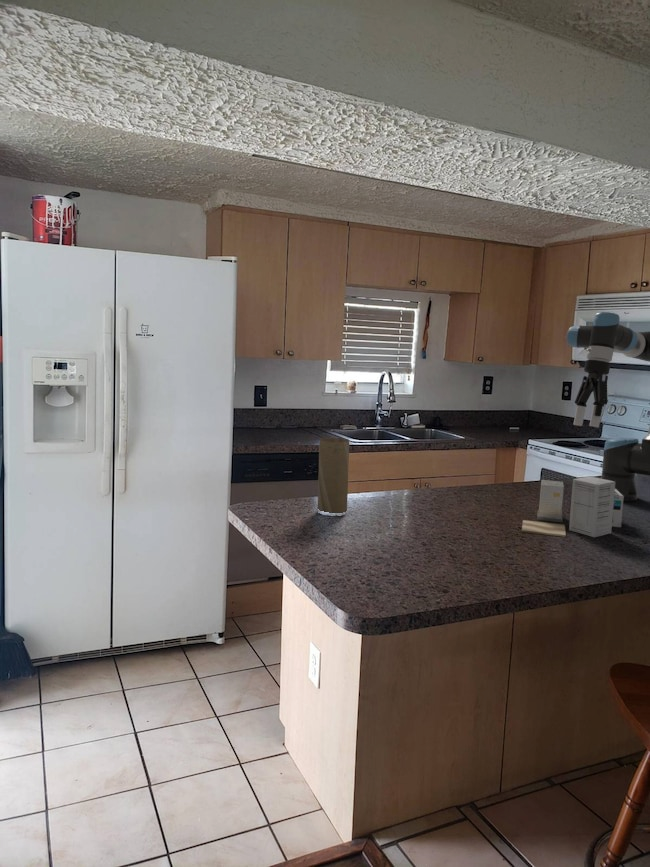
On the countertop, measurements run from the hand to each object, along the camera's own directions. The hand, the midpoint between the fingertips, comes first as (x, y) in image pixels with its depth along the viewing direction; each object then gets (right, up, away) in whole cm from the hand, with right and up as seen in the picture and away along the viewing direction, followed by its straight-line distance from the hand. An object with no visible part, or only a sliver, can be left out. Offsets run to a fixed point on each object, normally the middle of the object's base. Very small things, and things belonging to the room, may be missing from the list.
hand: (585, 426), depth 211 cm
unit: (-8, -31, +11) cm, 34 cm away
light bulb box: (+10, -32, +8) cm, 35 cm away
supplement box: (0, -34, -4) cm, 34 cm away
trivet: (-14, -33, -2) cm, 36 cm away
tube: (-82, -29, +10) cm, 87 cm away
